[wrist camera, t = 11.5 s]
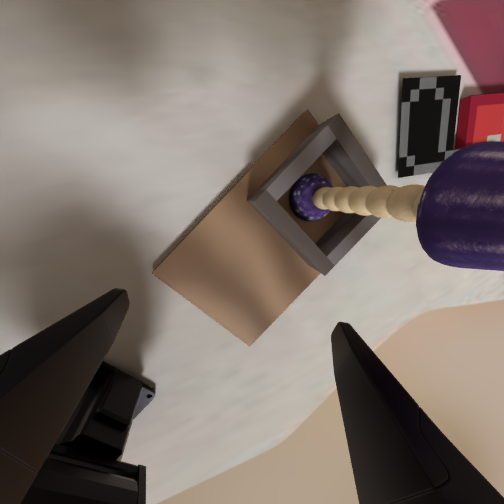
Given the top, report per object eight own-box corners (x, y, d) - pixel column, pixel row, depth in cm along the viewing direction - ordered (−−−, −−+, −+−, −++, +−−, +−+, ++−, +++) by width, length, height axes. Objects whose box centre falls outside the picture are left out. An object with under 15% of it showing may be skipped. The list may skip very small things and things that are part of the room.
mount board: (248, 342, 24) (256, 367, 20) (153, 271, 20) (144, 286, 16) (375, 210, 23) (406, 213, 20) (304, 111, 20) (327, 94, 16)
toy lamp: (342, 202, 22) (730, 214, 6) (308, 237, 22) (604, 342, 6) (312, 163, 20) (727, 36, 4) (276, 200, 20) (559, 208, 4)
